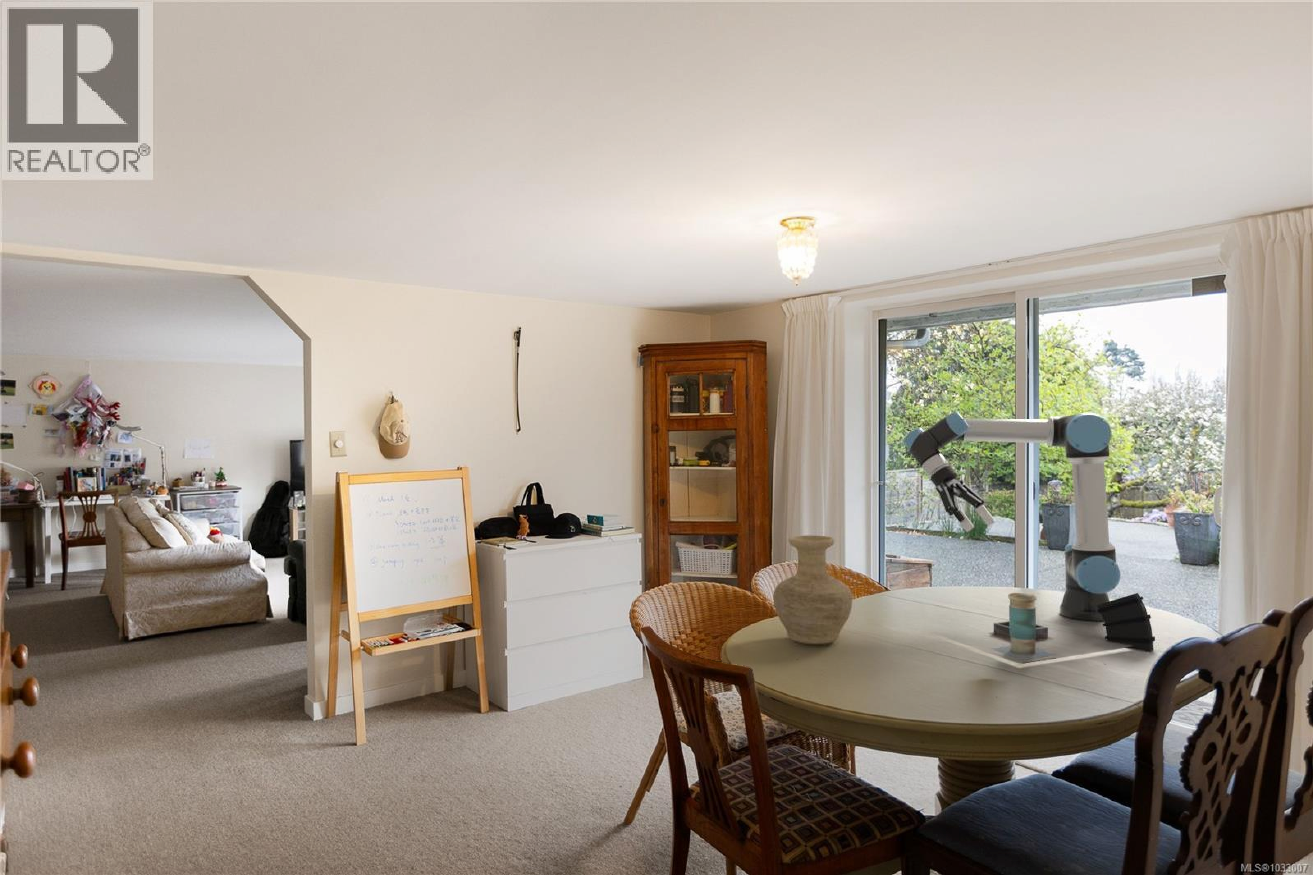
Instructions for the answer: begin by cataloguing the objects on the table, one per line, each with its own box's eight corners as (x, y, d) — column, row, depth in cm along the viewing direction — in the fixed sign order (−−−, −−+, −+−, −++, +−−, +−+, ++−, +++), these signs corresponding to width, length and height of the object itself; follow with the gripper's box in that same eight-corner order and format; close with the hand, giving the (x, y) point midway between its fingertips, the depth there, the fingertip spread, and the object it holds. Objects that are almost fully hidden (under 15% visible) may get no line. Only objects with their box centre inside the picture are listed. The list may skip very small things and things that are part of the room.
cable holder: (1020, 632, 232) (1020, 618, 232) (1053, 642, 221) (1053, 627, 221) (988, 636, 228) (988, 622, 228) (1020, 646, 217) (1020, 632, 217)
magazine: (1162, 648, 206) (1134, 594, 211) (1114, 660, 216) (1088, 608, 221) (1167, 646, 209) (1140, 592, 214) (1119, 657, 218) (1094, 605, 223)
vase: (781, 629, 241) (780, 532, 240) (856, 634, 233) (854, 534, 233) (767, 649, 220) (765, 542, 219) (848, 655, 212) (846, 544, 212)
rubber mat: (1023, 647, 216) (1023, 644, 216) (1056, 658, 205) (1055, 654, 205) (991, 652, 212) (991, 648, 212) (1023, 663, 202) (1023, 659, 202)
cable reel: (1023, 646, 213) (1022, 591, 213) (1043, 653, 207) (1042, 596, 206) (1003, 649, 211) (1002, 594, 211) (1022, 656, 204) (1021, 599, 204)
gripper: (951, 475, 259) (991, 528, 249) (910, 481, 243) (952, 538, 233) (967, 461, 254) (1009, 515, 245) (927, 467, 238) (970, 524, 229)
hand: (981, 526), depth 239 cm, fingers open, 13 cm apart
